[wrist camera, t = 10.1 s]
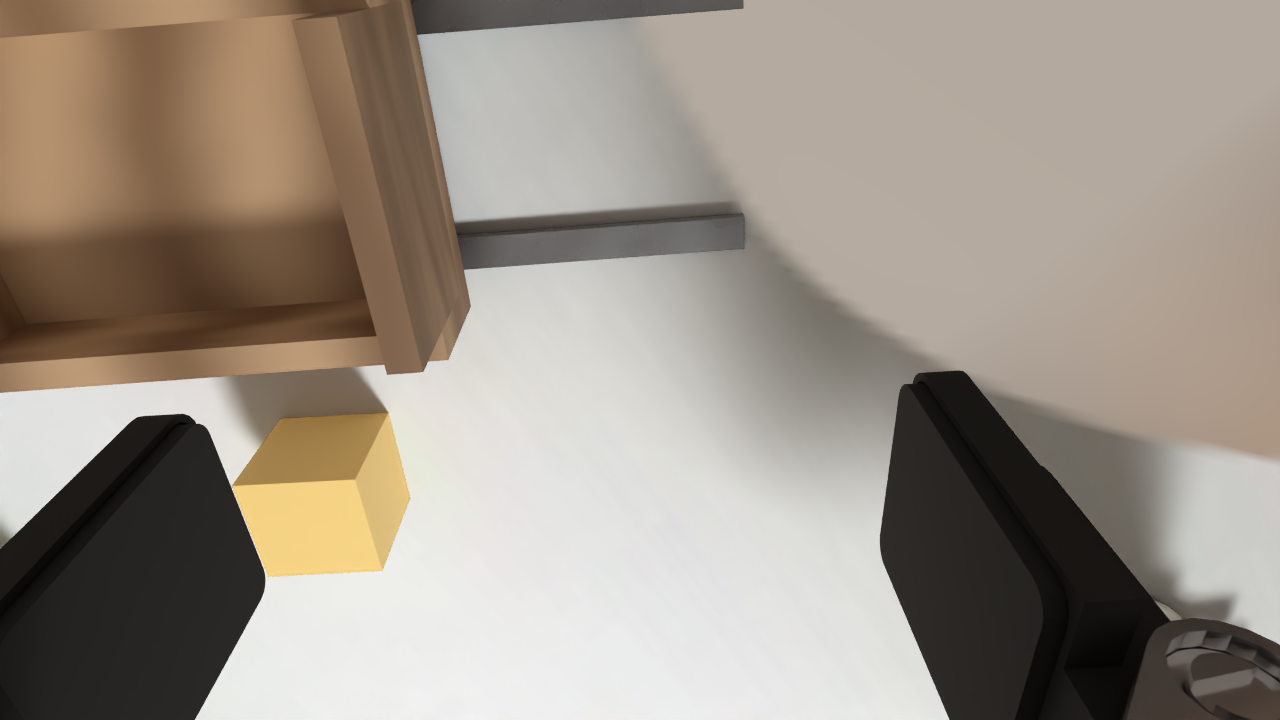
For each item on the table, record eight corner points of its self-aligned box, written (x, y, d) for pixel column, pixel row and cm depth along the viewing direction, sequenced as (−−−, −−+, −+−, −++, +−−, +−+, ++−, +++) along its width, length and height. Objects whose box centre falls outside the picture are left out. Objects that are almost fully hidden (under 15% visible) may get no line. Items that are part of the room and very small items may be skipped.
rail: (741, -68, 23) (753, -70, 21) (743, 267, 28) (752, 293, 26) (-151, 5, 23) (-227, 10, 21) (16, 321, 29) (-32, 351, 27)
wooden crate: (412, -41, 23) (323, -35, 16) (476, 292, 28) (430, 402, 21) (-108, 1, 23) (-410, 25, 16) (53, 323, 28) (-124, 442, 22)
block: (389, 411, 31) (355, 479, 27) (410, 496, 33) (382, 570, 29) (281, 417, 31) (231, 486, 27) (309, 502, 33) (268, 576, 30)
